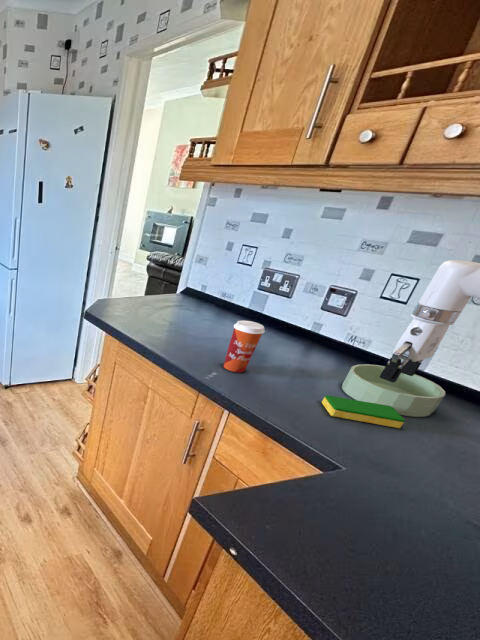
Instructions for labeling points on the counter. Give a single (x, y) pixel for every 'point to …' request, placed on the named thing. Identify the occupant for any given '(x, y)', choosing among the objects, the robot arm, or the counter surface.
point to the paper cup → (242, 345)
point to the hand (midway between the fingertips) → (396, 376)
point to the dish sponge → (363, 411)
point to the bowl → (393, 390)
